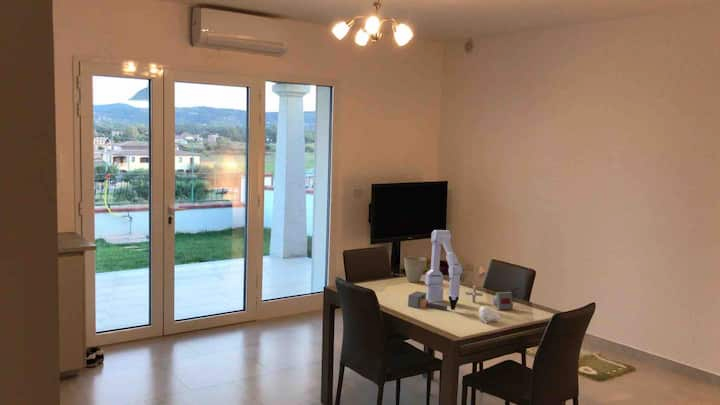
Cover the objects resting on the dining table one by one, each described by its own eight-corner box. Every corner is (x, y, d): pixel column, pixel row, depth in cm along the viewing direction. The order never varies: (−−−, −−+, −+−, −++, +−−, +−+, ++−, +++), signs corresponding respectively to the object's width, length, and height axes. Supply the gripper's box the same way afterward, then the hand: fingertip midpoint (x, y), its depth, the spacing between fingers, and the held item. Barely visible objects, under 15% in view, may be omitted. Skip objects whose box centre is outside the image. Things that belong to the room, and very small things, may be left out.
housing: (425, 303, 356) (426, 292, 356) (417, 307, 346) (418, 296, 345) (416, 301, 359) (416, 291, 359) (407, 306, 349) (408, 295, 348)
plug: (447, 309, 346) (447, 302, 345) (444, 311, 342) (445, 304, 342) (421, 304, 353) (421, 298, 353) (418, 306, 350) (419, 299, 349)
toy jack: (482, 305, 360) (483, 288, 359) (464, 303, 362) (466, 286, 361) (482, 300, 370) (483, 284, 369) (465, 299, 372) (466, 283, 371)
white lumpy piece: (478, 304, 326) (498, 306, 329) (475, 320, 326) (496, 321, 329) (483, 307, 320) (504, 309, 322) (480, 323, 320) (501, 325, 323)
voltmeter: (508, 312, 346) (509, 295, 346) (489, 309, 352) (490, 292, 351) (521, 303, 369) (523, 287, 368) (503, 300, 375) (504, 284, 374)
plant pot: (427, 281, 418) (428, 258, 417) (420, 285, 404) (421, 261, 403) (406, 278, 424) (408, 255, 423) (399, 281, 410) (400, 258, 409)
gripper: (447, 282, 349) (445, 305, 350) (447, 288, 334) (445, 312, 336) (459, 283, 347) (458, 306, 349) (460, 289, 333) (458, 313, 334)
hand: (452, 309), depth 342 cm, fingers closed
